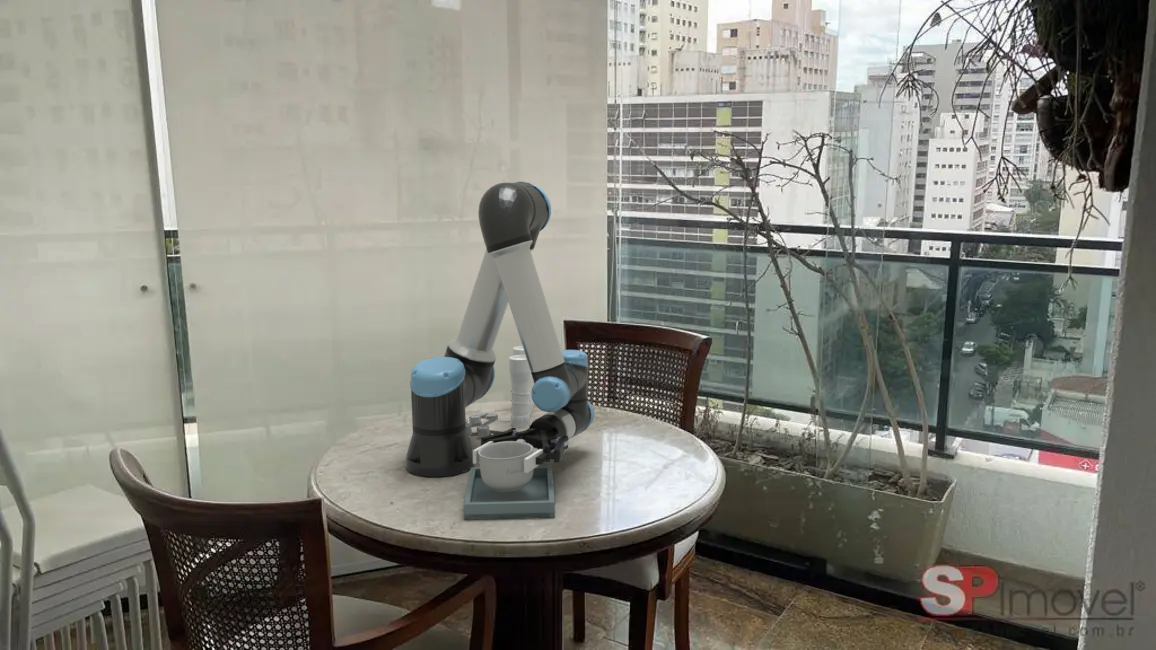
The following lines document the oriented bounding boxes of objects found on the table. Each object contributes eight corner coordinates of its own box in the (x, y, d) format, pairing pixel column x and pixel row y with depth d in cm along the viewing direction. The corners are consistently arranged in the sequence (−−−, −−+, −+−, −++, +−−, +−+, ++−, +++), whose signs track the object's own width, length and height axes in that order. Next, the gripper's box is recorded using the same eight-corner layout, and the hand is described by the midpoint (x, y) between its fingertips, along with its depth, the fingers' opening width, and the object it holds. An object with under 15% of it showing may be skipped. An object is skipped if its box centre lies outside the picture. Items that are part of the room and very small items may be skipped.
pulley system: (457, 455, 196) (519, 445, 200) (455, 436, 195) (518, 426, 200) (439, 426, 222) (495, 418, 226) (438, 409, 221) (493, 401, 225)
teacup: (512, 501, 158) (512, 460, 157) (467, 490, 164) (466, 451, 162) (552, 478, 170) (552, 440, 169) (509, 468, 176) (508, 432, 174)
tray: (464, 519, 157) (463, 504, 157) (471, 481, 177) (471, 467, 176) (554, 517, 158) (554, 502, 158) (551, 479, 178) (551, 465, 177)
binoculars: (530, 428, 213) (529, 359, 210) (509, 428, 213) (508, 359, 210) (534, 409, 230) (533, 345, 227) (514, 409, 230) (513, 345, 227)
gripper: (600, 454, 178) (552, 489, 158) (505, 439, 188) (450, 470, 168) (600, 420, 176) (552, 451, 157) (505, 407, 186) (448, 435, 167)
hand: (499, 461), depth 162 cm, fingers closed on teacup, 11 cm apart
